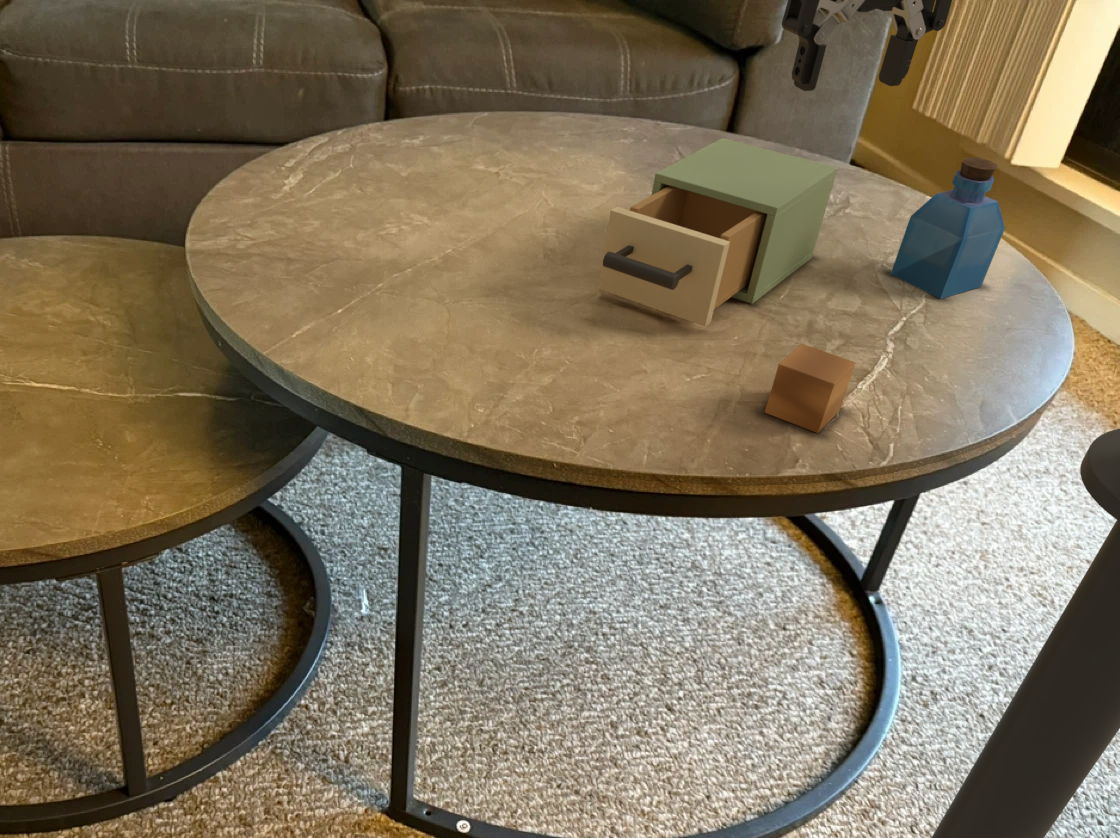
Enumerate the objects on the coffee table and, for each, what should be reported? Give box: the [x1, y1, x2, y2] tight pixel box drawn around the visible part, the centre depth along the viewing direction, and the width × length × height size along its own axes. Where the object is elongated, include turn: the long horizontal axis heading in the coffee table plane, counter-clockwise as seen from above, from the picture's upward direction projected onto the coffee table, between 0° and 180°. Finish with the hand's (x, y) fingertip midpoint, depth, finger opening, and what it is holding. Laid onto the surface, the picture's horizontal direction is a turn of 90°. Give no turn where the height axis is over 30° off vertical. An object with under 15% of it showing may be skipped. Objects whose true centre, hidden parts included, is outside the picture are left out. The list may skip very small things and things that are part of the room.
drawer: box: [597, 186, 768, 327], centre depth 100 cm, size 18×11×8 cm, turn 141°
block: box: [764, 343, 857, 434], centre depth 86 cm, size 5×5×5 cm
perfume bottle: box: [890, 157, 1006, 300], centre depth 104 cm, size 6×6×12 cm
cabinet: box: [651, 137, 839, 305], centre depth 107 cm, size 15×13×10 cm
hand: (846, 86), depth 91 cm, fingers open, 8 cm apart
